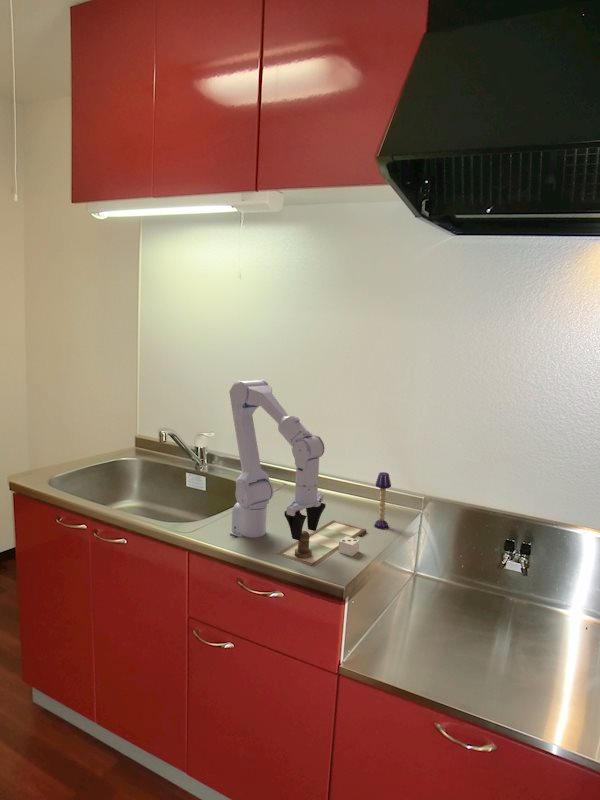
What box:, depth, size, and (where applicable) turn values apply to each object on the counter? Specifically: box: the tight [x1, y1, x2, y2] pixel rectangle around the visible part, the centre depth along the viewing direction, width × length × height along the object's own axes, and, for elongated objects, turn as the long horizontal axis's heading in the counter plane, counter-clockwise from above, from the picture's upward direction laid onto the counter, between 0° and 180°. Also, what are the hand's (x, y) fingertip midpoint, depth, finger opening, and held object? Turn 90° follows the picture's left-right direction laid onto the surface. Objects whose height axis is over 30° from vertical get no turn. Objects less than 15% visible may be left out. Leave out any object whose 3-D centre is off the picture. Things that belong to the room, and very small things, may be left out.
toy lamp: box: [373, 471, 392, 530], centre depth 158 cm, size 5×5×17 cm
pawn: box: [295, 530, 312, 559], centre depth 135 cm, size 4×4×6 cm
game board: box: [276, 519, 367, 568], centre depth 144 cm, size 11×30×1 cm, turn 147°
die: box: [337, 536, 360, 557], centre depth 138 cm, size 4×4×4 cm
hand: (304, 534), depth 134 cm, fingers open, 7 cm apart
